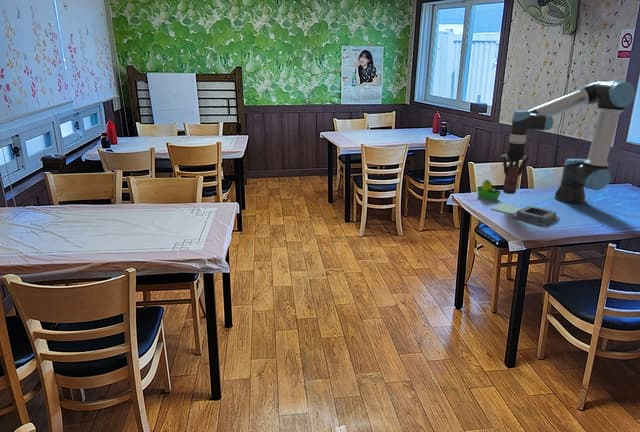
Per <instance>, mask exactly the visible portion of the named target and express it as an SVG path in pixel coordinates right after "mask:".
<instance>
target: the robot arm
mask: <svg viewBox="0 0 640 432" xmlns="http://www.w3.org/2000/svg"><path fill="white" fill-rule="evenodd" d="M634 98H635V88H634V87H633V86H632V84H630V82H627V81H623V80H609V79H602V80H598V81H594V82H591V83H588V84H586V85H583V86H580V87H579V88H577V89H576V91H574V92H571V93H568V94H566V95H563V96H561V97H559V98H556V99H554V100H551V101H548V102H546V103H544V104H542V105H539V106H536V107H533V108H531V109H528V110H523V109H522V110H519V109H518V110H515V111H514V112H513V116H512V120H511V122H512V123H511V128H510V136H509V142H508V147H507V151H506V154H502V155H501V159H502V164H503V166H502V167H503V173H504V175H507V166H508V165H509V167H513V165H515V167H518V166H519V168H520V170H519V175H518V176H521V175H522V173H523V170H524V168H525V166H526V163H527V162H528V160H530V158H529V156H528V155H526V154H525V148H526V142H527V136H528V131H543V132H544V131H549V130H551V129H552V128H553V125H554V118H553V117H554V116H556V115H559V114H562V113H565V112H567V111H570V110H572V109H575V108H577V107H580V106H583V107H584V106H588V105H590V104H597V109H598V111H599V114H598V118H597V120H596V121H597V123H596V126H595V129H594V134H593V135H592V136H593V137H592V140H591V144H590V149H589V152H588V157H587V158H567V159H565V162H564V165H563V169H562V174H561V180H560V185H559V187H558V188H557V190H556V192H555V194H554V198H555V200H556V201H560V202H564V203H570V204H583V203H585V202H586V192H585V188H586V189H587V190H588V189H589V190H593V191H599V190H602V189H604V188H606V187H607V186H608V185H609V183H610V181H611V179H612V174H611V172H610V171H609V168H610V167H609V166H610V164H609V162H608V157H609V154H610V151H611V146H612V143H613V139H614V136H615V132H616V129H617V126H618V125H617V124H618V122H619V118H620V114H621V113H623V112H625V109H626V108H627V106H629V105H630V104H631V103H632V102H633V101H634ZM507 158H508V160H509V161H508V162H509V163H508V164H507ZM520 161H521V163H520ZM519 164H520V165H519Z"/></svg>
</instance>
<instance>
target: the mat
mask: <svg viewBox="0 0 640 432" xmlns="http://www.w3.org/2000/svg"><path fill="white" fill-rule="evenodd" d="M520 209H522V207H518V206H517V207H516V206H513V205H509V204H505V203H500V204H497V205H494V206H493V207H490V210H492V211H496V212H498V213H499V212H500V213H503V214H508V215H510V216H513V215H516V214H517V211H518V210H520Z"/></svg>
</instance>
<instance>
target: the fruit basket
mask: <svg viewBox="0 0 640 432" xmlns="http://www.w3.org/2000/svg"><path fill="white" fill-rule="evenodd" d="M493 186H494V185H493V183H492V182H491V181H490V180H489V179H485V180H484V181H483V182H482V186H481V187H480V186H479V187H477V188H476V190H477V196H478V198H481V199H484V200H486V201H490V202H493V201H497V200H498V198H499V197H500V194H501V193H502V190H499V189H496V188H493Z"/></svg>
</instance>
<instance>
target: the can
mask: <svg viewBox="0 0 640 432" xmlns="http://www.w3.org/2000/svg"><path fill="white" fill-rule="evenodd" d="M519 167H520V165H518V167H515V164H513V167H509V164H507V175H506V174H504V175H505V177H504V183H503V189H502V192H503V193H504V194H507V195H513V194H516V192H517V185H518V181H519V176H520V175H519V170H520V168H519Z"/></svg>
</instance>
